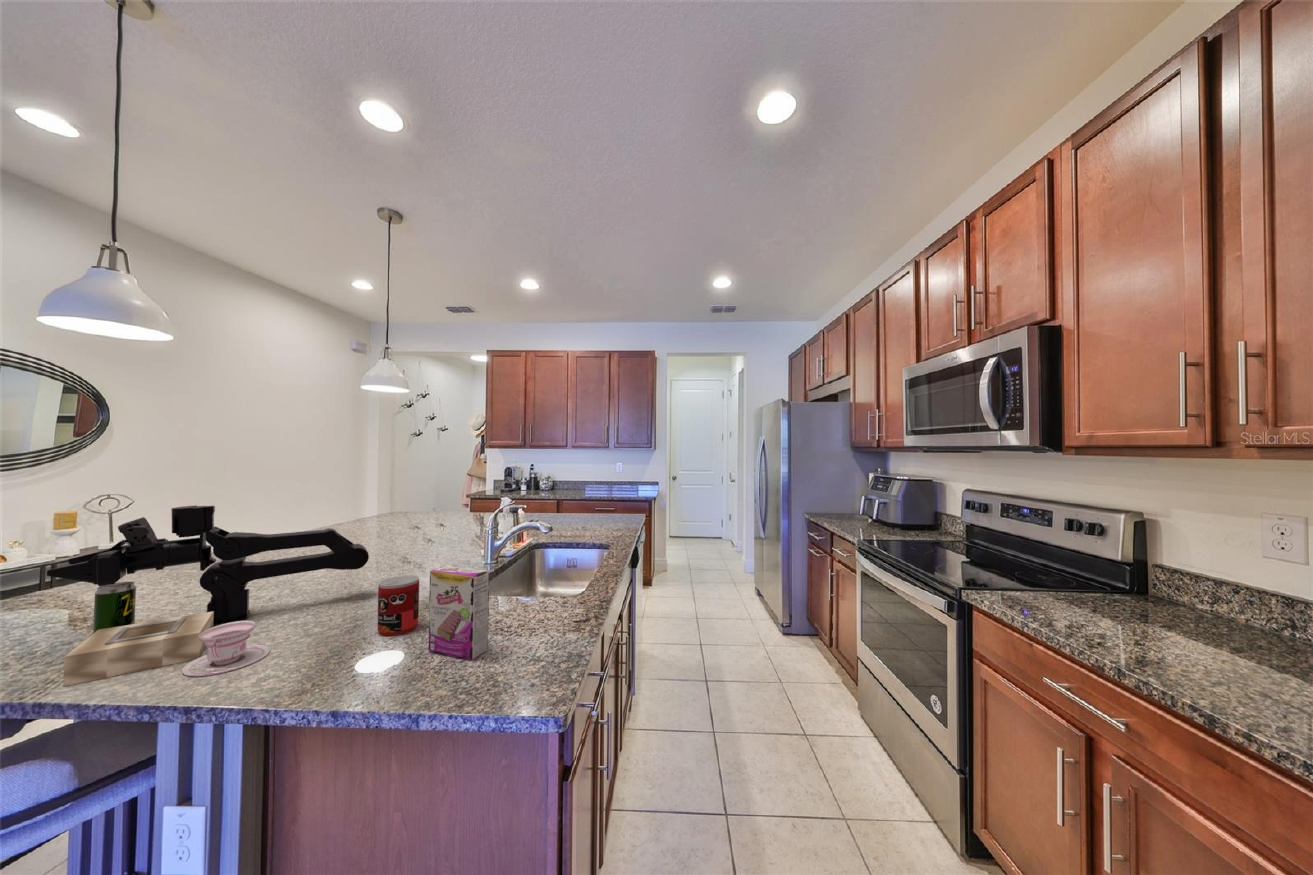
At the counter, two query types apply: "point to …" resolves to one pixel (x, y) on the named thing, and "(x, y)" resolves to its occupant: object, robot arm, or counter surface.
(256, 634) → the counter surface
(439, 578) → the candy bar box
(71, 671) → the socket block
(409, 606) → the canned food
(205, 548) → the robot arm
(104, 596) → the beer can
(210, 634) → the teacup
